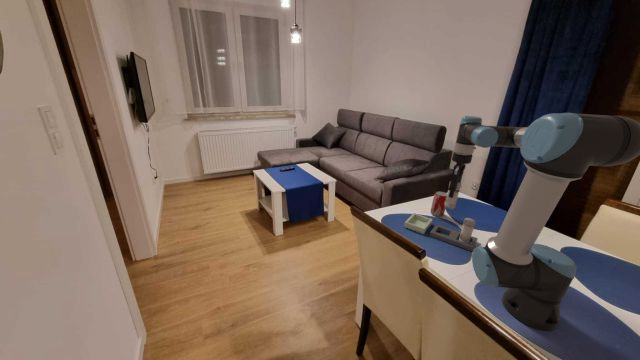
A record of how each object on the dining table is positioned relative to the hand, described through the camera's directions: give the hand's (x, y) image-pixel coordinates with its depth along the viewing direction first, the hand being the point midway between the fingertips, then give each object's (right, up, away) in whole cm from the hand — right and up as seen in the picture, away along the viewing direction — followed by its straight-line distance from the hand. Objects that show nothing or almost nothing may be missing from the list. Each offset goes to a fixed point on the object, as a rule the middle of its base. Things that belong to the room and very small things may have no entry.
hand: (450, 201), depth 120 cm
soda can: (+6, -10, +27) cm, 29 cm away
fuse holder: (+3, -18, +4) cm, 19 cm away
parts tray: (-10, -14, +14) cm, 22 cm away
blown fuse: (0, -3, +1) cm, 3 cm away
